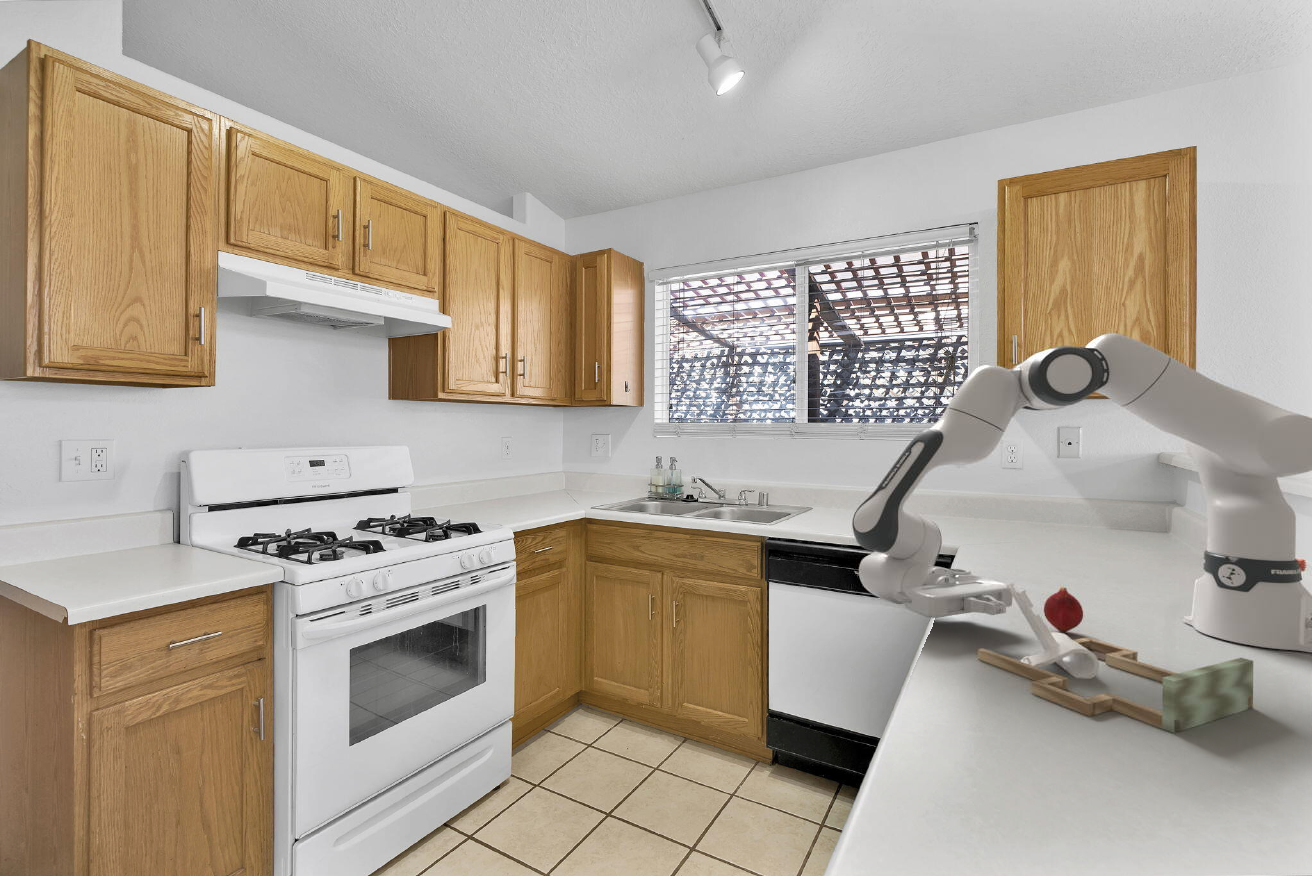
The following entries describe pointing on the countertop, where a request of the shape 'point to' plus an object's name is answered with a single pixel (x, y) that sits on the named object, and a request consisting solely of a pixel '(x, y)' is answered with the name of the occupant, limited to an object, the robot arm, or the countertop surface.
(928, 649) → the countertop surface
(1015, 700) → the countertop surface
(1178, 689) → the trap lane
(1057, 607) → the onion
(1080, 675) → the plastic part
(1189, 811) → the countertop surface
